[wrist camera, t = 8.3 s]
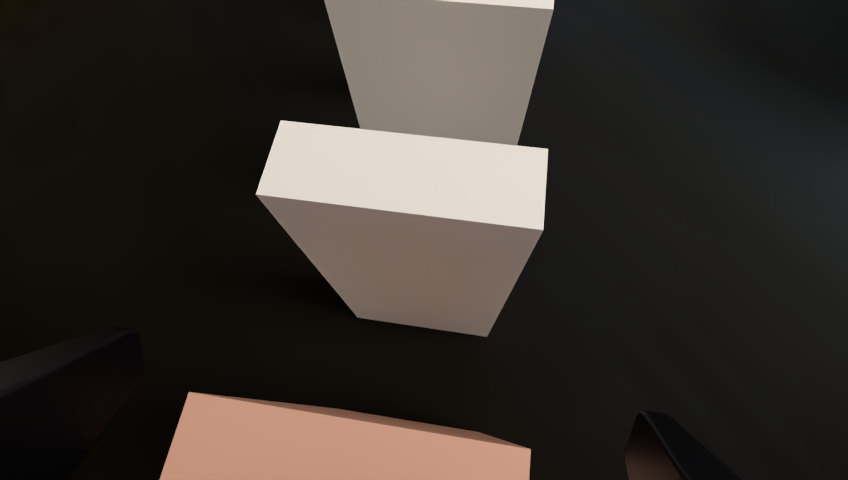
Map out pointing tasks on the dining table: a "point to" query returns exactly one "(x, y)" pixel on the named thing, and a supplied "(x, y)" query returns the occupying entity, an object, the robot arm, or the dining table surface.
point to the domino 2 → (409, 219)
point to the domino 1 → (441, 64)
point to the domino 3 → (327, 445)
